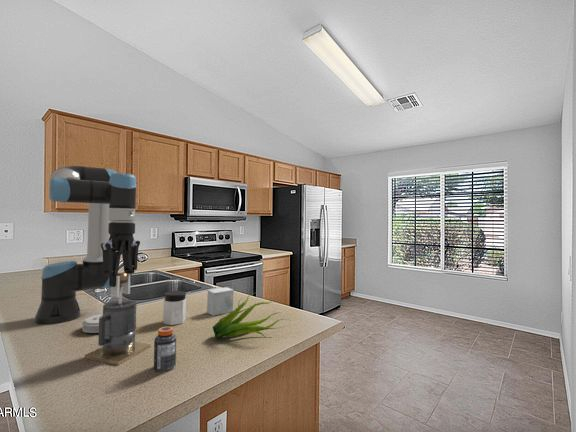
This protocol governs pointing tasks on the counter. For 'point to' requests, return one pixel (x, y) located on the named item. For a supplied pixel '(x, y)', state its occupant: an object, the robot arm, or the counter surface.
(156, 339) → the pill bottle
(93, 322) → the white round disc
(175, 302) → the jar
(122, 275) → the plunger
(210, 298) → the skincare box
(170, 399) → the counter surface
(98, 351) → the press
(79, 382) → the counter surface
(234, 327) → the decorative plant
